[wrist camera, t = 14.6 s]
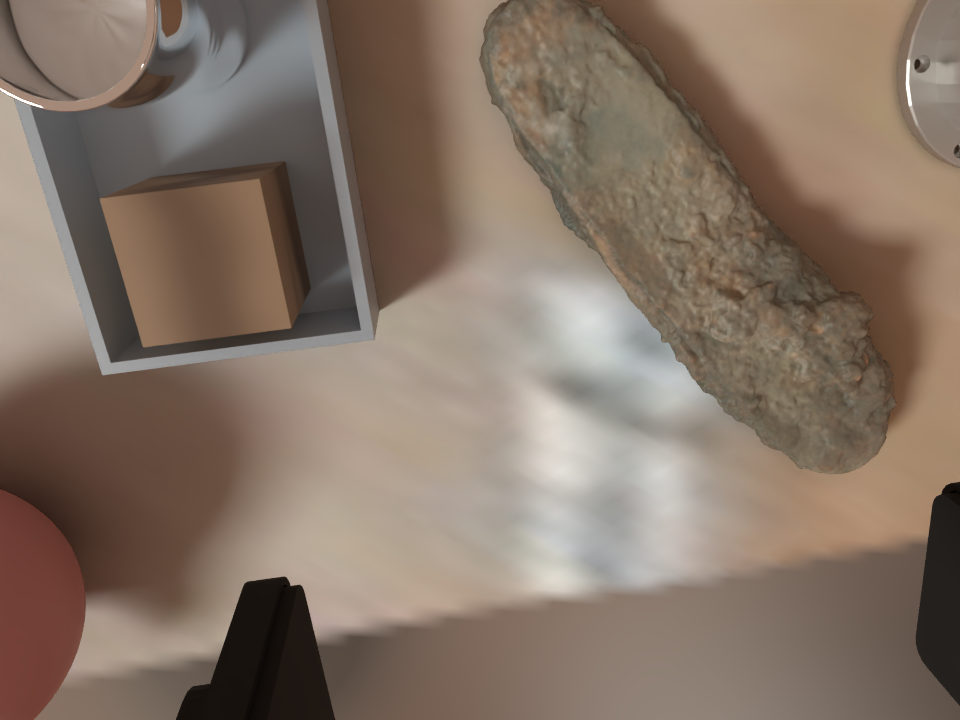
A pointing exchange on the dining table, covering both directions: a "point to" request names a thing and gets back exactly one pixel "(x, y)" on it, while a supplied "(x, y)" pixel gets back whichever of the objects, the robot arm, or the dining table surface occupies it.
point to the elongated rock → (687, 234)
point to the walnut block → (209, 253)
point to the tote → (209, 146)
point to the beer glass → (117, 51)
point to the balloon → (35, 608)
